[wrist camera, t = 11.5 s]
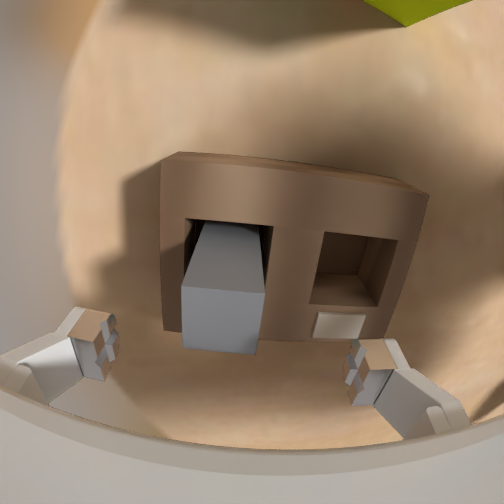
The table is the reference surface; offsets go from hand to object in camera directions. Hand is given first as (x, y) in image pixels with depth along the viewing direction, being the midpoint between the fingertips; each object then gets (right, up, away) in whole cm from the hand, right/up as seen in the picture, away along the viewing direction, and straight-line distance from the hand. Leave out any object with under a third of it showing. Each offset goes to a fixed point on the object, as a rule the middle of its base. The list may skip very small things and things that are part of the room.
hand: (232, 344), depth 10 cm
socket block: (+3, +4, +10) cm, 11 cm away
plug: (-1, +4, +10) cm, 11 cm away
